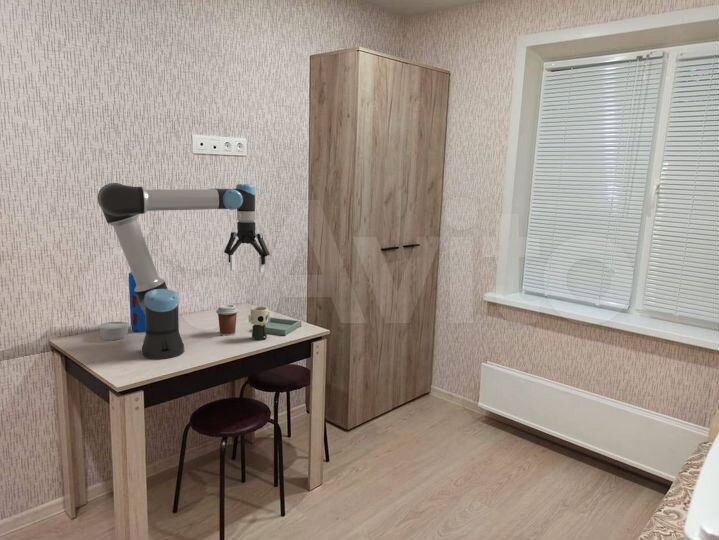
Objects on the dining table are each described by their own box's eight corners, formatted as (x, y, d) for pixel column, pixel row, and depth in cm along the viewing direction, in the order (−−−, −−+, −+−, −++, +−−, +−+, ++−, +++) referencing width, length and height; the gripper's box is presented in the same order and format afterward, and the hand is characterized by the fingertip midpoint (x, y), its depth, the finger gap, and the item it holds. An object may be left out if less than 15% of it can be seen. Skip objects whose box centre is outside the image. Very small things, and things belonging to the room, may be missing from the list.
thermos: (125, 331, 221) (122, 273, 216) (142, 324, 231) (140, 269, 226) (146, 333, 217) (144, 275, 213) (163, 327, 228) (161, 271, 223)
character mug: (254, 343, 209) (254, 312, 207) (243, 339, 213) (243, 309, 211) (274, 337, 217) (275, 307, 215) (264, 334, 222) (263, 304, 219)
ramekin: (130, 332, 219) (129, 320, 218) (128, 340, 209) (127, 327, 208) (101, 334, 215) (100, 322, 214) (97, 342, 205) (96, 329, 204)
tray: (285, 335, 220) (285, 330, 220) (252, 331, 225) (252, 325, 225) (301, 326, 235) (301, 320, 235) (270, 322, 240) (270, 317, 240)
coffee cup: (217, 337, 215) (216, 309, 213) (216, 331, 224) (215, 304, 222) (239, 335, 218) (239, 308, 216) (237, 329, 227) (237, 303, 225)
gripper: (277, 222, 216) (277, 271, 220) (224, 219, 223) (225, 267, 226) (269, 223, 209) (269, 274, 212) (215, 220, 216) (216, 270, 219)
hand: (247, 271), depth 219 cm, fingers open, 13 cm apart
